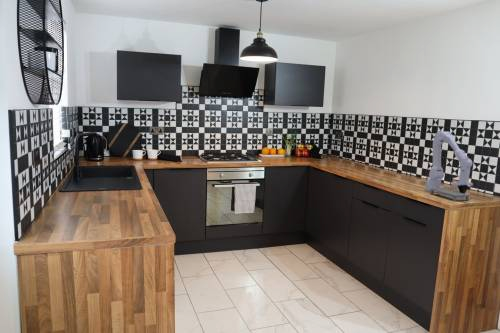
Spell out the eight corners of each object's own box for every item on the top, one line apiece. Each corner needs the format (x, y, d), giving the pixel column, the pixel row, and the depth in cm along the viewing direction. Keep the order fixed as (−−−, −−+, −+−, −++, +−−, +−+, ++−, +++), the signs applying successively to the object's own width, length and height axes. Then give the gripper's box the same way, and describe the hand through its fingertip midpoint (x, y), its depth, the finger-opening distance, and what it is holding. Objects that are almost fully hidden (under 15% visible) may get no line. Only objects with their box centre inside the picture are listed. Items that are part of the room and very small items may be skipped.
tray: (452, 194, 276) (452, 192, 275) (469, 199, 261) (470, 196, 261) (438, 195, 272) (438, 192, 272) (455, 200, 258) (455, 197, 258)
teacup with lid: (454, 189, 298) (456, 174, 296) (466, 191, 291) (468, 176, 289) (446, 190, 291) (448, 175, 289) (459, 193, 284) (461, 177, 282)
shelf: (443, 193, 278) (444, 188, 277) (468, 201, 257) (469, 195, 256) (429, 194, 274) (430, 188, 274) (454, 201, 253) (455, 195, 253)
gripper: (460, 177, 261) (458, 197, 263) (477, 177, 265) (474, 197, 267) (452, 175, 267) (449, 195, 269) (469, 175, 272) (466, 194, 274)
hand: (461, 195), depth 269 cm, fingers closed
